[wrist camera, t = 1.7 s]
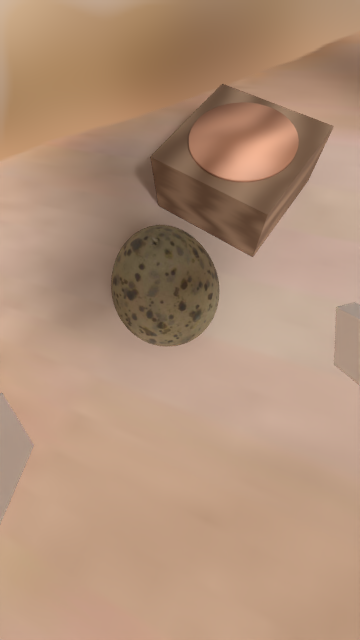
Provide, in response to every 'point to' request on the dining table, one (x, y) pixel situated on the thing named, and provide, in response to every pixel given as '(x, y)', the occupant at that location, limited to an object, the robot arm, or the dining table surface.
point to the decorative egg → (164, 286)
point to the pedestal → (237, 166)
